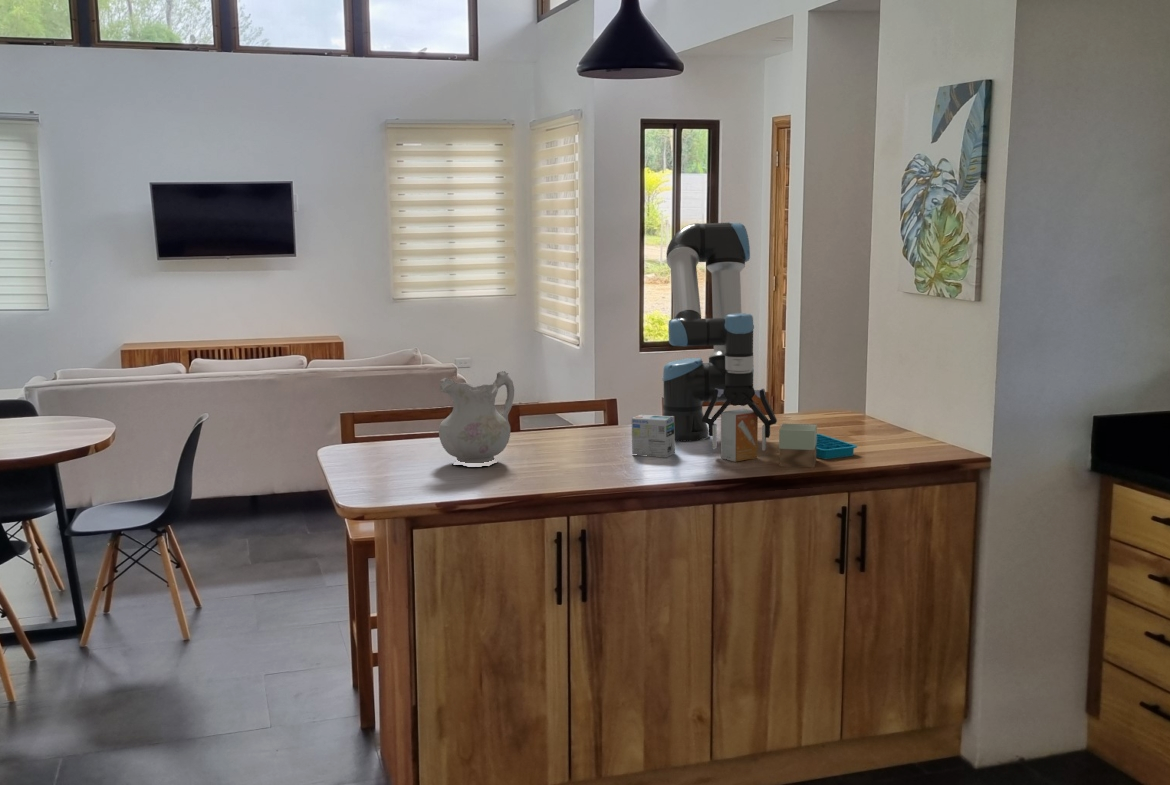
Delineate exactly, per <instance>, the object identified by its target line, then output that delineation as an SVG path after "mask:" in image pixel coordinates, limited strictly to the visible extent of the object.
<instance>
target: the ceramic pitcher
mask: <svg viewBox="0 0 1170 785" xmlns="http://www.w3.org/2000/svg"><path fill="white" fill-rule="evenodd" d="M508 374H509V373H507V371H506V370H505V371H498V372H497V373H496V379H495V380H494V382H493V383H492V384H489V383H488V384H481V385H477V386H474V385H471V384H469V383H467V382H464V381H463V382H455V381H454V380H453V379H452V378H451V379H450V378H447V377H444V378H442V379H440V384H439V390H440V392H442V393H445V394H447V395H448V396H449V397H450V398H451V400H452V405H453V407H452V412H450V413H449V415H448V416H447V417H445V418H444V419H443V420H442V421H441V423H440V424H439V427H438V437H439V441H440V444H441V446H442V448H443V449H444V450H445V452H446V453H447V454H449V455H450V456H452V457H454V458H456V459H457V460H458V461H460V462H465V463H484V462H489V461H492V460H494V459H495V457H496V456H498V455H499V454H501V453H502V452H504V450H505V448H506V447H507V445H508V444H509V441H510V438H511V437H510V436H511V425H510V423H509V413H510V411H511V409H512V407H513V401H514V398H515V386H514V382H513V380H512V378H511V377H510V376H509V375H508ZM503 386H505V387H506V399H505V402H504V404H503V405H504V406H503V408H502V409H503V410H502V414H500V413H499V412H498V410H497V409H496V406H495V405H496V404H495V403H496V397H497V394H498V392H499V389H500V388H501V387H503Z"/></svg>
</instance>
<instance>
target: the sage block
mask: <svg viewBox="0 0 1170 785" xmlns="http://www.w3.org/2000/svg"><path fill="white" fill-rule="evenodd" d="M778 433H779V435H778V438H779V439H778V449H779V450H780V449H801V450H814V449H815V446H816V443H817V434H818V424H808V423H782V424H781V426H780V428H779V431H778Z"/></svg>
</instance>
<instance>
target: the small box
mask: <svg viewBox="0 0 1170 785" xmlns="http://www.w3.org/2000/svg"><path fill="white" fill-rule="evenodd" d="M758 419H759V417H758V416H757V415H756V414H755V412H754V411H753V410H752V409H746V408H740V409H739V408H738V409H732V410H727V411H725V410H724V411H723V412H722V413H721V415H720V459H724V460H726V459H727V461H730V462H731V461H732V462H740V461H746V460H748V461H749V460H752V459H753V460H754V459H758V437H759V436H758V435H759V434H758V432H759V431H758V426H759V425H758V423H759V422H758V421H759V420H758Z"/></svg>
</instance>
